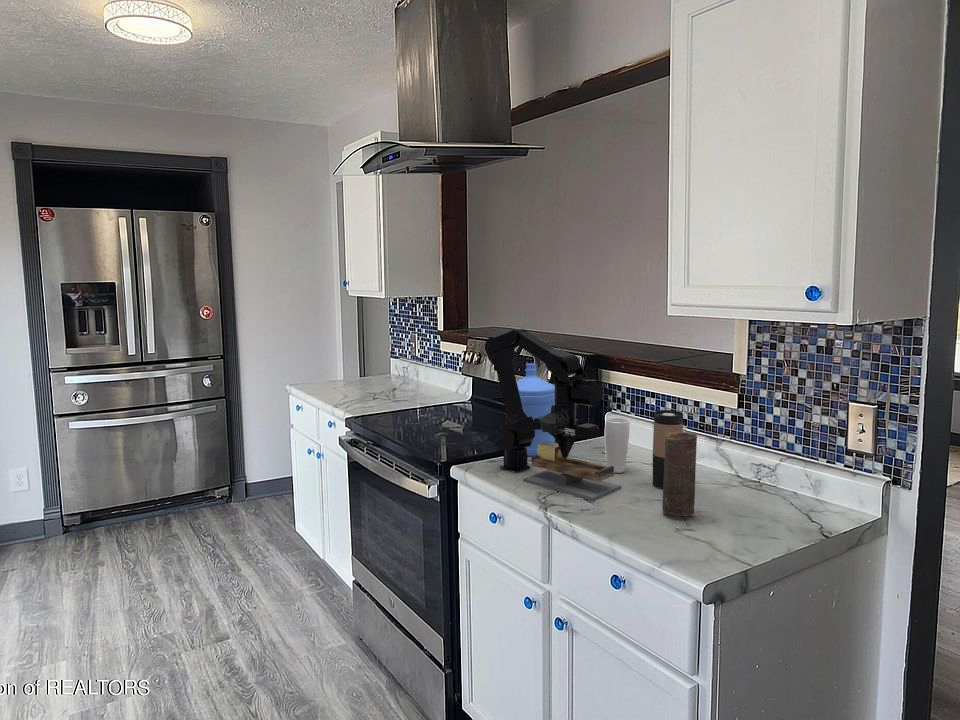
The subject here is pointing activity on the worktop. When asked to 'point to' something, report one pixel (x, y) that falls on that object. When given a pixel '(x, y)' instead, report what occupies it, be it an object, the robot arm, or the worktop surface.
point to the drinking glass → (617, 443)
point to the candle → (679, 474)
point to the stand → (572, 484)
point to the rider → (550, 452)
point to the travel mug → (663, 440)
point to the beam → (576, 468)
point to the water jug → (536, 403)
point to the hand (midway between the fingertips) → (564, 457)
